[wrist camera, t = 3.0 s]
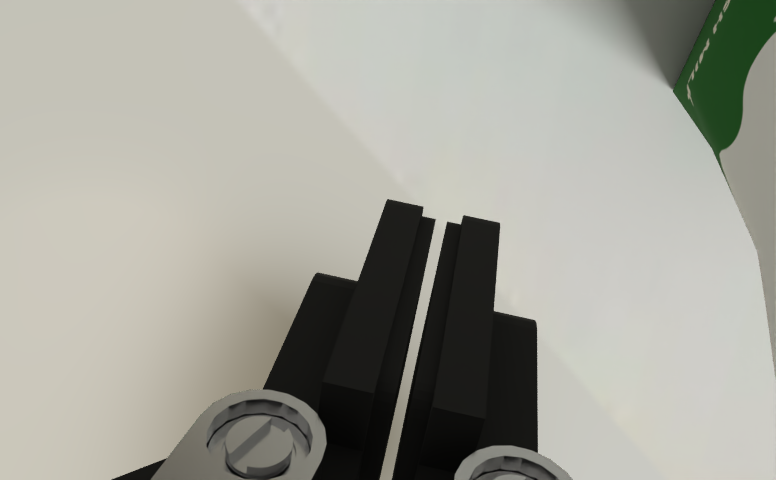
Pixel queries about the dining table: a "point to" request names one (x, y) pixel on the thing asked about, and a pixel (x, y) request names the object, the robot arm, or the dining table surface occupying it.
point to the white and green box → (740, 118)
